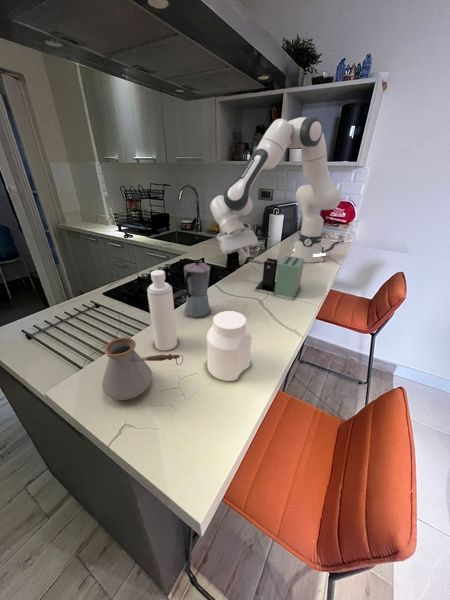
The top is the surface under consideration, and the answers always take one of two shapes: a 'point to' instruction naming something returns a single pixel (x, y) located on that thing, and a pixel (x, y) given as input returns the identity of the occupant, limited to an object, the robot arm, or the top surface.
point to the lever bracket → (269, 276)
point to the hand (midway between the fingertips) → (247, 257)
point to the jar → (228, 346)
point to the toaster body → (289, 276)
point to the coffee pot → (128, 370)
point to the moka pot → (197, 288)
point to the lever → (255, 261)
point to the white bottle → (162, 311)
